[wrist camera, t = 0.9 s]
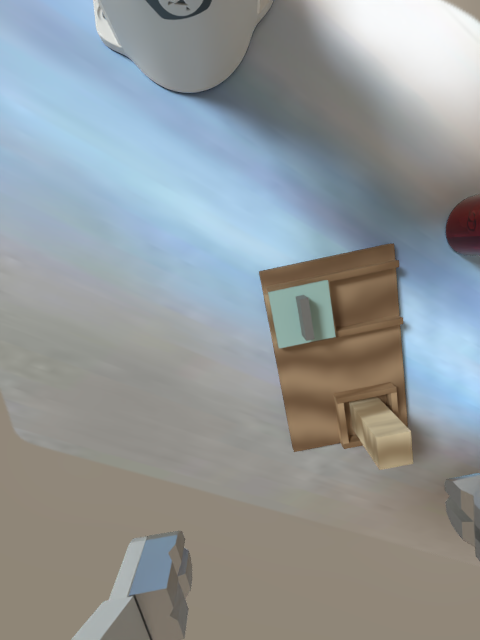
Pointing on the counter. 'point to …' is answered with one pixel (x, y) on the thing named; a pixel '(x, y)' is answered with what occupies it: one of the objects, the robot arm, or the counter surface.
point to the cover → (302, 314)
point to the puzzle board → (342, 346)
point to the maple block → (381, 433)
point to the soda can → (465, 227)
